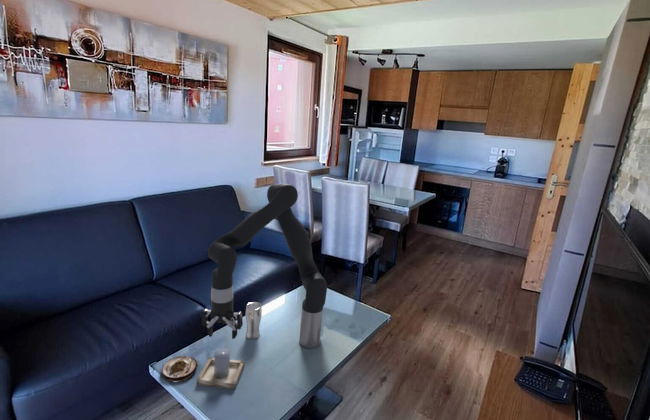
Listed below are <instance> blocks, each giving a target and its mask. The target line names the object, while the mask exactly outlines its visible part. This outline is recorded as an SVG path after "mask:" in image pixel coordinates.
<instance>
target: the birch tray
mask: <svg viewBox="0 0 650 420" xmlns="http://www.w3.org/2000/svg"><path fill="white" fill-rule="evenodd" d="M244 368H245V361H244V360H238V359H237V360H236V359H230V366H229V375H228V376H227V377H225V378H223V379H218V378H216V377H215V376H214V357H212V356H210V357H208V359H207V361H206V363H205V364H204V366H203V368H202V369H201V371H200V373H199V375H198V376H197V378H196V386H203V387H211V388H220V389H227V390H236V387H237V384H238V382H239V380H240V378H241V376H242V372H243V370H244Z"/></svg>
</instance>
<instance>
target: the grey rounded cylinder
mask: <svg viewBox="0 0 650 420" xmlns="http://www.w3.org/2000/svg"><path fill="white" fill-rule="evenodd" d="M213 358H214V376H215V377H216V378H218V379H223V378H225V377H227V376H228V375H229V366H230V360H231V351H230V350H229V348H226V347H225V348H224V347H223V348H222V347H221V348H218V349H216V350H215V351H214V357H213Z"/></svg>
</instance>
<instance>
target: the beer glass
mask: <svg viewBox="0 0 650 420" xmlns="http://www.w3.org/2000/svg"><path fill="white" fill-rule="evenodd" d="M262 312H263V311H262V303H260V302H258V301H252V302H248V303H247V304H246V308H245V322H246V333H245V336H246V338H247V339H249V340H256V339H258V338H259V337H260V325H261V319H262Z"/></svg>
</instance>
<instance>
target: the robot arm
mask: <svg viewBox="0 0 650 420" xmlns="http://www.w3.org/2000/svg"><path fill="white" fill-rule="evenodd" d="M266 191H267V192H266V198H267V201H268V203H267V204H266V205H265V206H263V207H262V208H260V209H258V210H257V211H255V212H253V213H252V214H250V215H248V216H247V217H245V218H244V219H243V220H242V221H240V223H238V225H236V226H235V227H234V228H233V229H232V230H231V231H229V232H227V233H225V234H224V235H222V236H220V237H219V238H216V239H215V240H214V241H213V242H212V243H211V244H210V245H209V247H208V250H207V256H208V258H209V259H210V260H212V261H213V262H215V263H216V264H217V268H215V269H214V270H212V273H211V288H210V289H211V291H210V300H211V301H210V303H211V304H210V305H211V306H210V308H211V309H209V308H208V307H205V308H204V310H202V312H201V326H203V327H206V329H207V335H208V337H210V338H211V337H212V336H213V335H214V324H215V323H217V324H222V325H223V324H224V325H227V326H228V327H230V329H232V331H231V339H232V340H235V339H236V337H237V336H238V331H239V330H242V327H243V325H244V323H243V321H244V320H243V311H241V310H239V311H238V312H235V311H234V286H233V283H234V282H233V279H234V278H233V277H234V276H233V274H234V271H235V269H236V264H237V261H238V254H237V251H236V250H235V248H236V247H245V246H246V245H248V243H249V242H251V240H252V239H253V238H255V237H256V236H257V234H259V232H261V231H262V230H263V229H264V228H265V227H266V226H267V225H269V224H270V223H271V222H272V221H273V220H275V219H277V221H278V224H279V226H280V229H281V231H282V234H283V236H284V239H285V242H286V245H287V247H288V251H290V254H291V256H292V258H293V260H294V262H295V263H296V265H297V267H298V271H299V275H300V278H301V283H302V286H303V288H304V290H305V298H304V299H303V301H302V303H301V317H300V328H299V344H300V345H301V346H302V347H304V348H306V349H307V348H308V349H313V348H320V343H321V333H322V323H323V322H322V321H323V312H324V306H325V304H326V299H327V291H328V283H327V281H326V279H325V278H324V276H323V275H322V274H321V272H320V271H319V269H318V267H317V265H316V262H315V260H314V258H313V257H314V256H313V248H312V243H311V240H310V237H309V235H308V232H307V230H306V228H305V227H304V226H303V224H302V223H301V222H300V220H299V219H298V217H296V215H295V214H294V212H293V209H292V207H293V206H294V205H296V202H297V200H298V196H299V193H298V190H297V188H296V187H295V186H294V185H293V184H292V185H291V184H290V183H289V184H288V183H273V184H271V185H270V186H269V187H268V189H267V190H266ZM209 315H210V317H212V319H210V321H208V320H209V319H208V318H209ZM234 317H235V318H234Z"/></svg>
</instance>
